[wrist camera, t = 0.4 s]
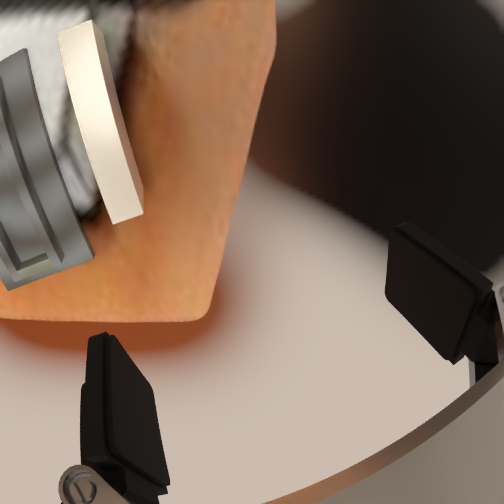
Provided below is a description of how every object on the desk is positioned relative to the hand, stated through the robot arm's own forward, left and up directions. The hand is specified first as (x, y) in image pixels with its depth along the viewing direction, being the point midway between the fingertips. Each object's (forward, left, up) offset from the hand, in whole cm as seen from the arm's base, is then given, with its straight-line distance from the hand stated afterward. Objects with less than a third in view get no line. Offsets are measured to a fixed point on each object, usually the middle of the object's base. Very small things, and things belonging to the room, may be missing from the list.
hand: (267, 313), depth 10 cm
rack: (-3, -20, -28) cm, 34 cm away
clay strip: (-5, -6, -28) cm, 29 cm away
